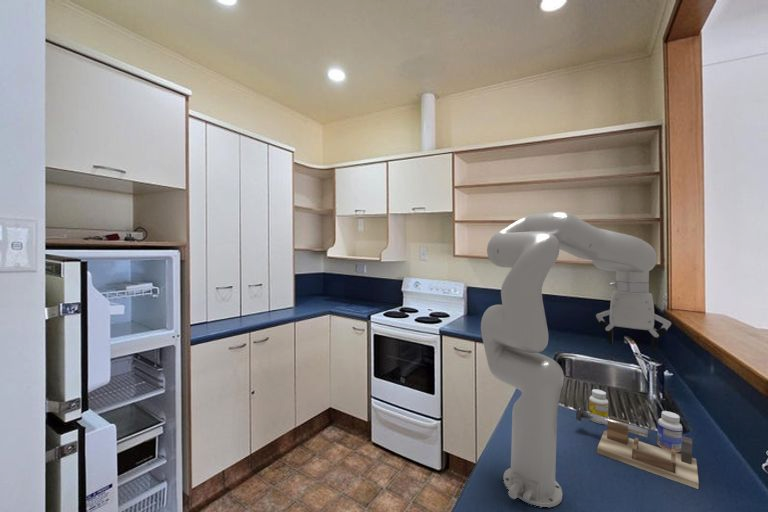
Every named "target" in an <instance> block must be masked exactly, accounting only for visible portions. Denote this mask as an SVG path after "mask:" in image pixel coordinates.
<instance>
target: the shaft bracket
mask: <svg viewBox="0 0 768 512" xmlns="http://www.w3.org/2000/svg"><path fill="white" fill-rule="evenodd" d="M608 418H609V419H613V420H616V421H620V422H623V423H626V424H630V421H629V420H625V419H622V418H618V417H617V416H613V415H609V416H608ZM606 426H607V430H604V431H603V433H602V436H601V438H600V440H599V443H598V445H597V448H596V450H597V451H596V453H597V455H600V456H601V455H602V456H604V457H606V458H610V459H612V460H615V461H618V462H620V463H624V464H626V465H629V466H633V467H635V468H637V469H640V470H643V471H646V472H649V473H651V474H654V475H657V476H660V477H663V478H664V479H665V478H666V479H669V480H671V481H674V482H677V483H680V484H682V485H685V486H688V487H691V488H694V489H697V490H699V484H700V482H699V474H698V465H697V464H698V463H697V459H696V458H695V457H694V458H693V439H692V438H690V437H687V436H684V435H682V444H681V451H680V453H679V452H676V450H674V449H672V450H671V451H669V450H666V449H663V448H661V447H660V446H655V445H652V444H649V443H646V442H643V441H640V440H639V437H634V439H633V438H630V437H629V433H630V432H628V426H626V425H623V424H619V423H616V422H612V421H609V420H608V425H606Z"/></svg>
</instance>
